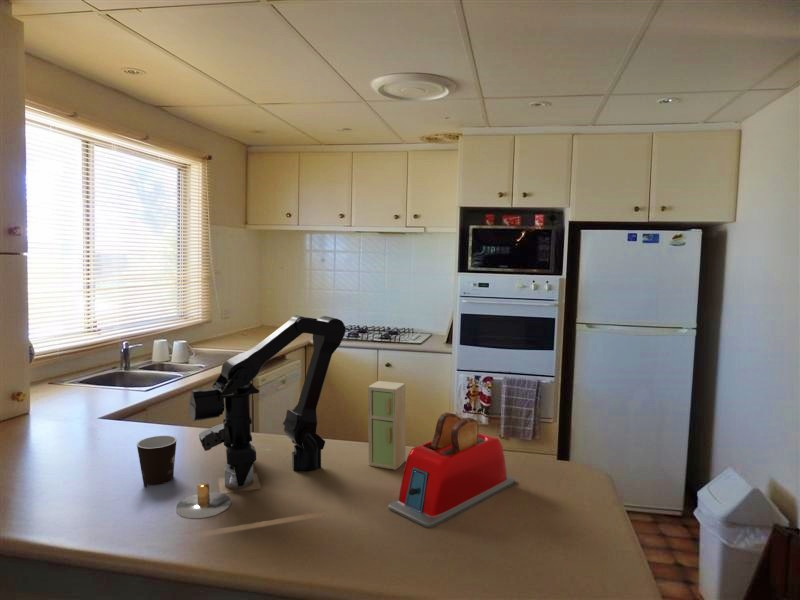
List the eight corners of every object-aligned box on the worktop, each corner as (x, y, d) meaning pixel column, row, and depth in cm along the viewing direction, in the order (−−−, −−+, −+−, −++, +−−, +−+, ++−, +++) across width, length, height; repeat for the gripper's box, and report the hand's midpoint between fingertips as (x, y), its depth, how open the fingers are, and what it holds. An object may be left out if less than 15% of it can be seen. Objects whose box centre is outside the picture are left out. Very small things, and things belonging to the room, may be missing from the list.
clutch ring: (251, 475, 133) (251, 459, 133) (254, 486, 127) (254, 469, 127) (224, 479, 131) (223, 463, 130) (225, 490, 125) (225, 473, 124)
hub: (229, 494, 125) (228, 472, 124) (232, 516, 115) (232, 492, 114) (176, 501, 121) (176, 479, 120) (175, 525, 111) (174, 500, 110)
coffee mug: (163, 492, 126) (161, 449, 125) (130, 488, 127) (128, 446, 126) (192, 471, 137) (191, 432, 136) (161, 468, 139) (160, 430, 138)
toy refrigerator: (366, 466, 141) (366, 386, 139) (378, 456, 148) (378, 380, 146) (395, 471, 138) (395, 389, 136) (405, 461, 145) (406, 383, 143)
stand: (256, 476, 135) (256, 454, 134) (261, 491, 126) (260, 468, 126) (218, 481, 132) (217, 459, 131) (220, 497, 123) (219, 474, 123)
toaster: (429, 531, 110) (430, 440, 108) (385, 509, 119) (386, 425, 117) (518, 483, 132) (520, 407, 131) (475, 468, 141) (477, 396, 140)
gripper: (200, 406, 133) (201, 468, 135) (201, 430, 116) (203, 501, 117) (247, 401, 137) (248, 462, 139) (256, 424, 120) (257, 493, 121)
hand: (239, 478), depth 129 cm, fingers open, 8 cm apart
